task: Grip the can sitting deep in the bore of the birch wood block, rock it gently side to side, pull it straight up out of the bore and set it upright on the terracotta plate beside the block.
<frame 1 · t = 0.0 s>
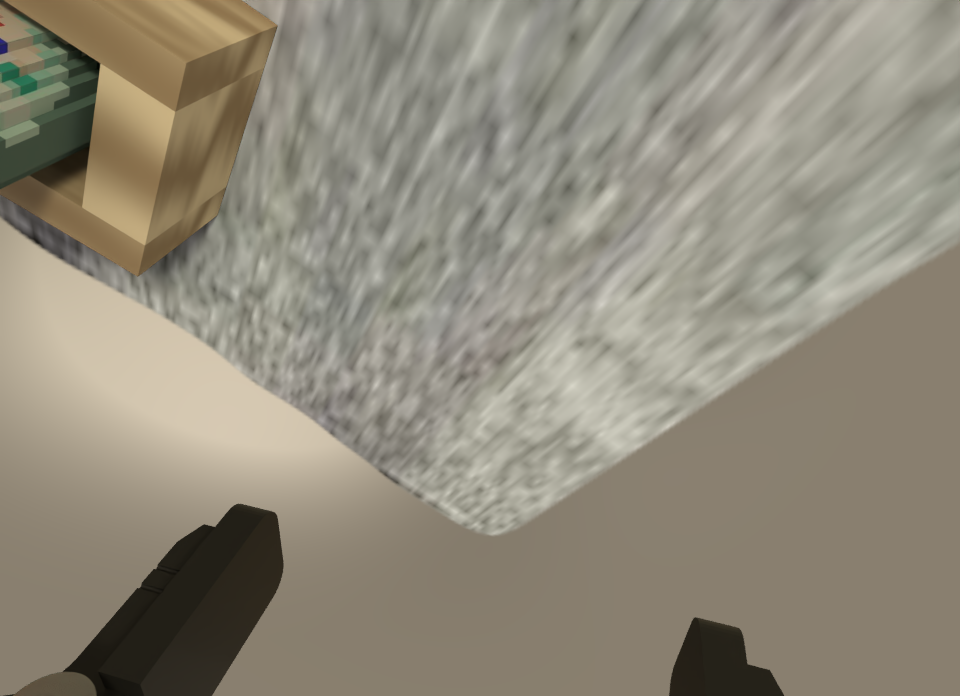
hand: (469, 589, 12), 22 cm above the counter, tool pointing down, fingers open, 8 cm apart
can: (123, 49, 31), resting in bore block
bore block: (120, 50, 31), on the counter
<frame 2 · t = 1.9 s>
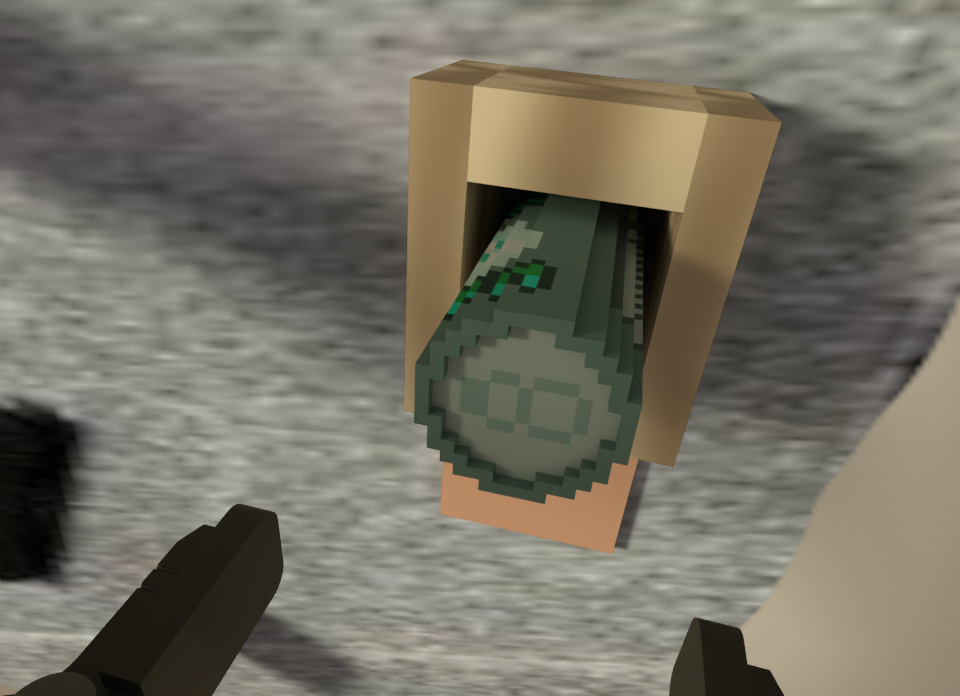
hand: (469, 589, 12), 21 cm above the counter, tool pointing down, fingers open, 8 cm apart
plate: (537, 458, 37), on the counter
can: (574, 232, 30), resting in bore block
bore block: (574, 234, 29), on the counter
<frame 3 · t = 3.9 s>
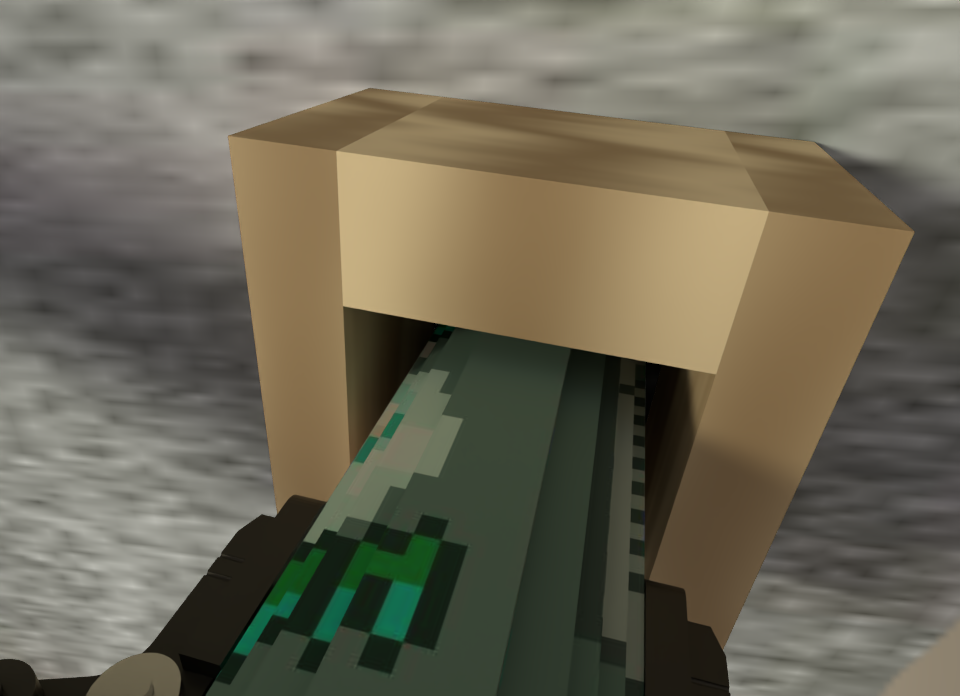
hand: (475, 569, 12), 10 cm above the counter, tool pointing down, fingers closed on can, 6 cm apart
can: (546, 334, 20), resting in bore block, touching gripper
bore block: (545, 337, 20), on the counter
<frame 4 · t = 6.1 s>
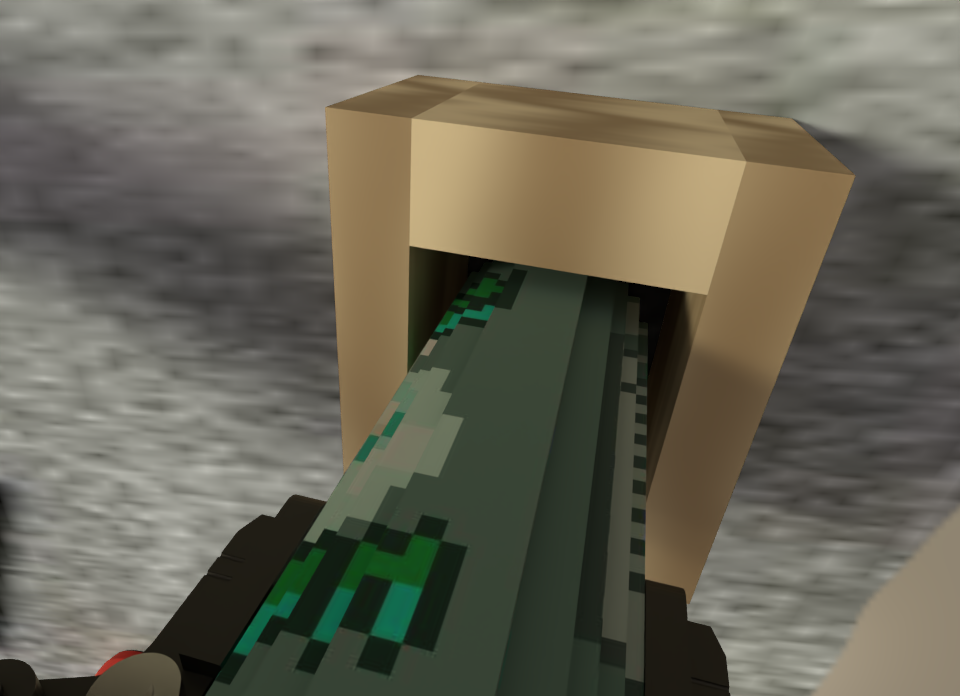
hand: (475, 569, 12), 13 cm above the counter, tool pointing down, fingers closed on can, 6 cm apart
canned food: (157, 678, 47), on the counter
can: (547, 332, 20), point 4 cm above the counter, touching gripper
bore block: (564, 292, 23), on the counter
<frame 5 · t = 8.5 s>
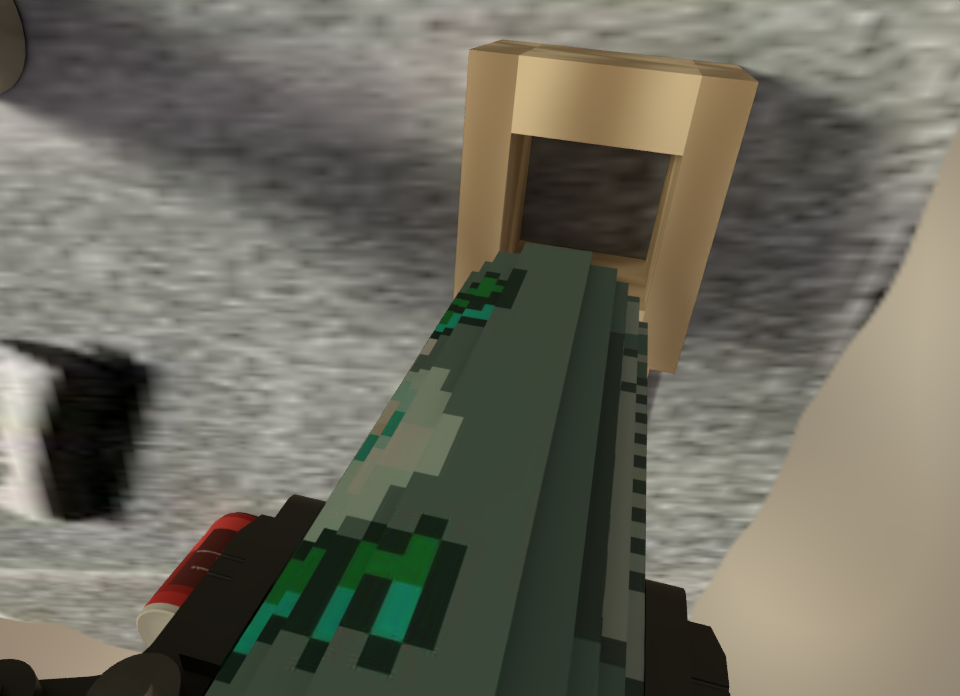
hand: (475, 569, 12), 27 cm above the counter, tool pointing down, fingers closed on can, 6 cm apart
canned food: (253, 539, 59), on the counter
can: (547, 331, 20), point 18 cm above the counter, touching gripper
bore block: (592, 187, 35), on the counter
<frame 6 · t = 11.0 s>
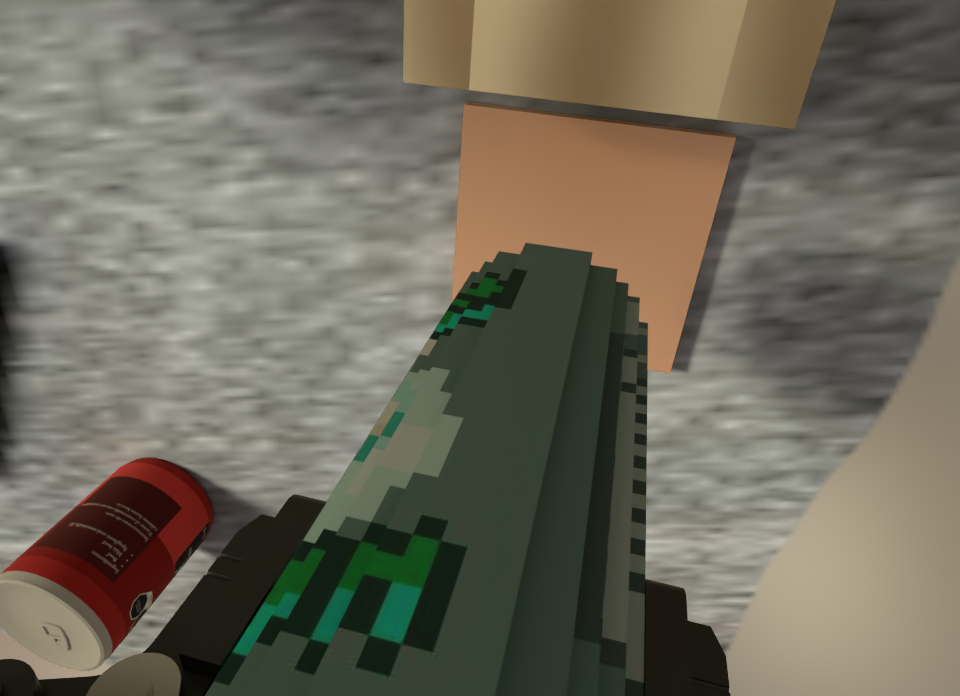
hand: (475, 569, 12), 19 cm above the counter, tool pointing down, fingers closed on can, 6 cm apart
plate: (575, 242, 28), on the counter
canned food: (171, 495, 45), on the counter
can: (547, 331, 20), point 9 cm above the counter, touching gripper
when the fingers open (11 cm above the counter, at t = 13.4 s): can drops 1 cm, resting on plate.
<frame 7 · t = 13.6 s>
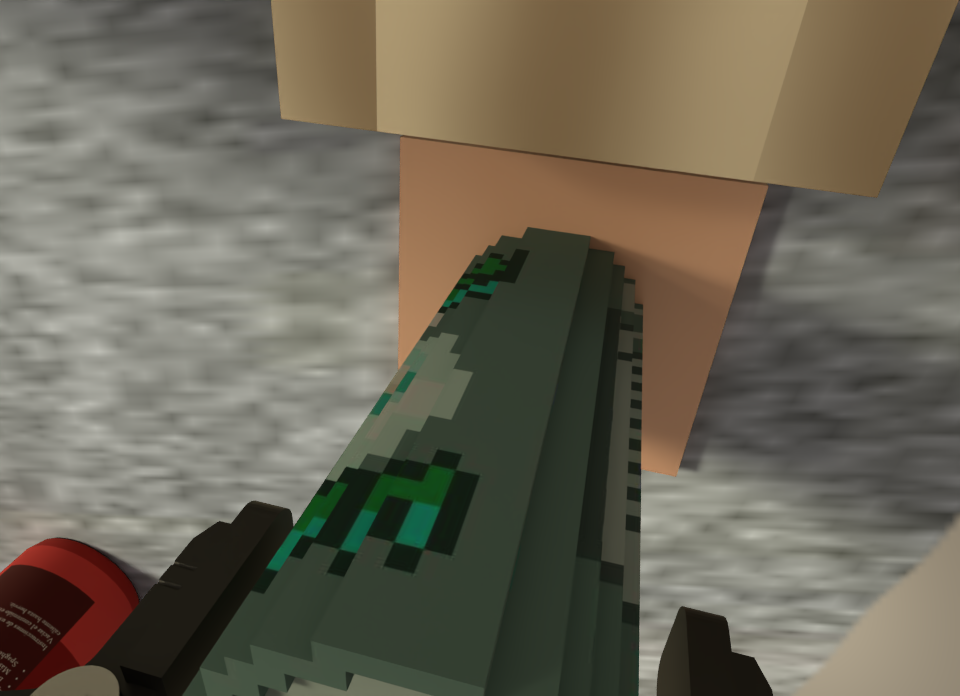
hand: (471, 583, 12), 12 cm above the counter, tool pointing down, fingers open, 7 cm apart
plate: (553, 312, 22), on the counter
canned food: (91, 578, 39), on the counter
can: (547, 313, 21), point 1 cm above the counter, touching plate
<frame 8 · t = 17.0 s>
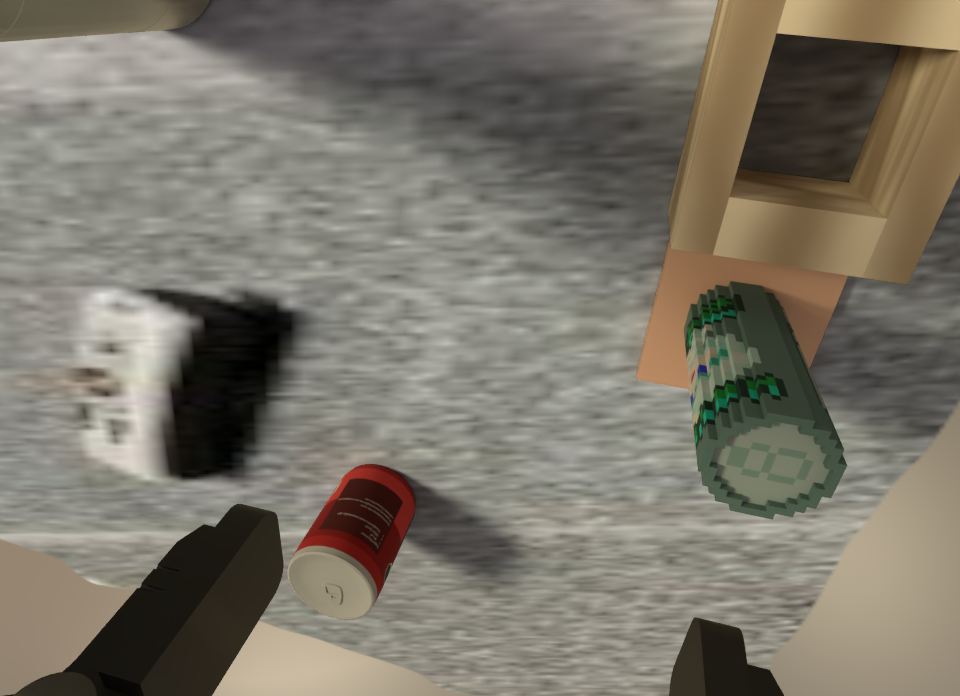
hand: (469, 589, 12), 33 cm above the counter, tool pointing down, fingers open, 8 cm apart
plate: (733, 322, 42), on the counter
canned food: (380, 492, 59), on the counter
can: (732, 322, 42), point 1 cm above the counter, touching plate
bore block: (803, 107, 35), on the counter
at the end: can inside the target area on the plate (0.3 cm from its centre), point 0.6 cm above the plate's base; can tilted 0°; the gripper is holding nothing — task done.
